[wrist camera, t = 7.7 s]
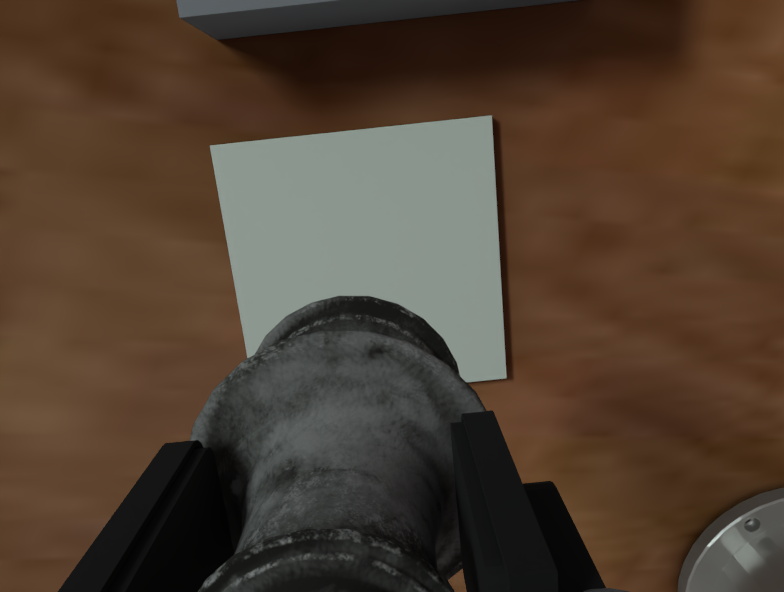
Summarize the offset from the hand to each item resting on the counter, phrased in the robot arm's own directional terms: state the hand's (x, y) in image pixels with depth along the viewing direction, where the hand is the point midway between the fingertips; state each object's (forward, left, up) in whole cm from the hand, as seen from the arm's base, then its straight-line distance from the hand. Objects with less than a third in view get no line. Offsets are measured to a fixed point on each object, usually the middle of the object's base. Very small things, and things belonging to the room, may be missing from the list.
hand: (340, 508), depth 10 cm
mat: (0, 0, -20) cm, 20 cm away
